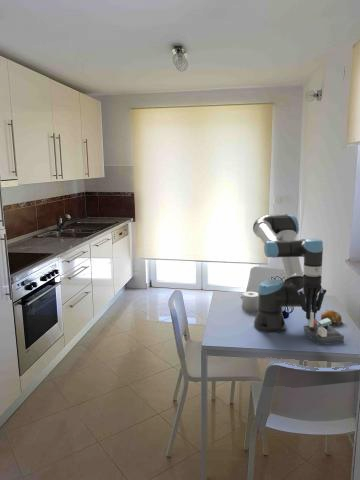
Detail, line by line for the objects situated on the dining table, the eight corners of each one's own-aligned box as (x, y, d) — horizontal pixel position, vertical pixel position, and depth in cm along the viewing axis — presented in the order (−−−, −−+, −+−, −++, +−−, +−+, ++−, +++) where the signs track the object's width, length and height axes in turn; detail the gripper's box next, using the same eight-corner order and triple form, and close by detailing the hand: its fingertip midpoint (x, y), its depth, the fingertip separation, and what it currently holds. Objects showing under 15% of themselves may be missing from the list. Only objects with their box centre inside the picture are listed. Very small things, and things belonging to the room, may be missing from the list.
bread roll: (341, 328, 195) (343, 312, 197) (339, 326, 186) (341, 310, 188) (321, 324, 200) (323, 309, 202) (318, 323, 191) (320, 307, 193)
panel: (318, 344, 169) (319, 336, 169) (304, 331, 183) (304, 324, 182) (343, 342, 171) (344, 334, 170) (327, 329, 185) (327, 322, 184)
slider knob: (321, 337, 169) (322, 329, 169) (317, 333, 173) (317, 326, 172) (326, 336, 170) (327, 329, 169) (322, 333, 173) (322, 326, 172)
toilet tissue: (244, 302, 225) (244, 289, 223) (262, 308, 214) (262, 294, 213) (234, 306, 219) (234, 292, 218) (251, 312, 209) (252, 297, 207)
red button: (311, 326, 178) (311, 321, 178) (307, 323, 182) (307, 318, 181) (318, 326, 179) (318, 321, 178) (314, 323, 182) (314, 318, 182)
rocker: (322, 327, 179) (321, 324, 179) (318, 324, 183) (317, 321, 182) (331, 323, 180) (331, 320, 179) (327, 320, 183) (327, 317, 183)
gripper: (302, 277, 161) (300, 330, 164) (330, 275, 162) (328, 328, 166) (294, 273, 168) (292, 323, 172) (321, 271, 170) (319, 321, 174)
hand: (310, 325), depth 169 cm, fingers closed
